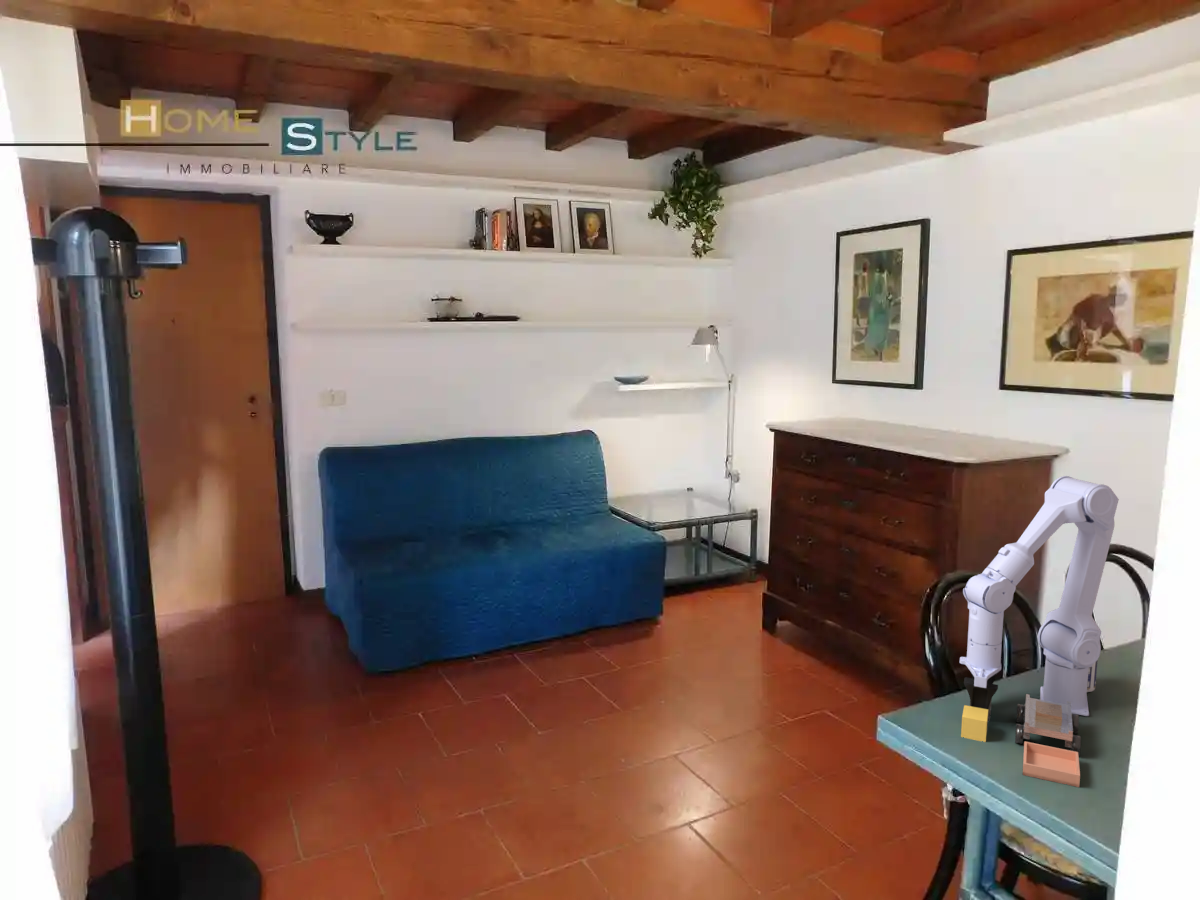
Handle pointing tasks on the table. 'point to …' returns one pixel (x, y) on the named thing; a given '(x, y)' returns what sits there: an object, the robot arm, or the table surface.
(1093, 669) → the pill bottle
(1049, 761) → the tray
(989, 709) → the grey matte cube
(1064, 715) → the trolley
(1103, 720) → the table surface
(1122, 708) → the table surface
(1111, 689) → the table surface
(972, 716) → the chock
